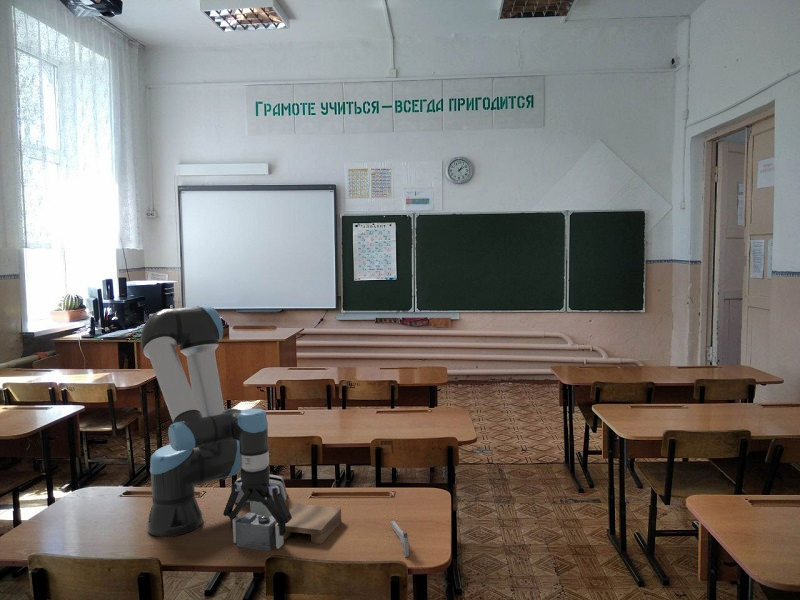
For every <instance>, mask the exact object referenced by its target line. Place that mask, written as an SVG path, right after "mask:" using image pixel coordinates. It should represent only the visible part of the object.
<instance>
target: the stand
mask: <svg viewBox="0 0 800 600" xmlns="http://www.w3.org/2000/svg"><path fill="white" fill-rule="evenodd" d="M289 511H290V514H291V516H292V519H291V520H290V521H289V522H288V523H285V526H286V533H285V534H284V535H283V540H286V539H287V538H288V537H289V536H290V535H291V534H292V533H299V534H300V533H301V534H308V535H310V539H311V544H317V545H322V544H323V543H324V542H326V540H327V538H328V537H329V536H330V535H332V533H333V532H334V531H335V529H336V528H338V526H339V525H340V524H341V523H342V508H341V507H340V508H339V507H330V506H322V505H321V506H320V505H313V504H302V503H297V504H296V505H295V506H294V507H292V509H290V510H289Z"/></svg>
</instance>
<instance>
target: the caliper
mask: <svg viewBox="0 0 800 600" xmlns="http://www.w3.org/2000/svg"><path fill="white" fill-rule="evenodd" d="M390 525H391V528H392V529H393V531H394V532H395V534H396V535H397V536H398V538H399V542H400V544H402V553H403V555H404V558H408V557H410V547H409V545H410V544H409V537H408V533H407V531H404V530H402V529H401V527H400V526H399V525H398V524H397V522H396V521H395V520H392V521H390Z"/></svg>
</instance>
